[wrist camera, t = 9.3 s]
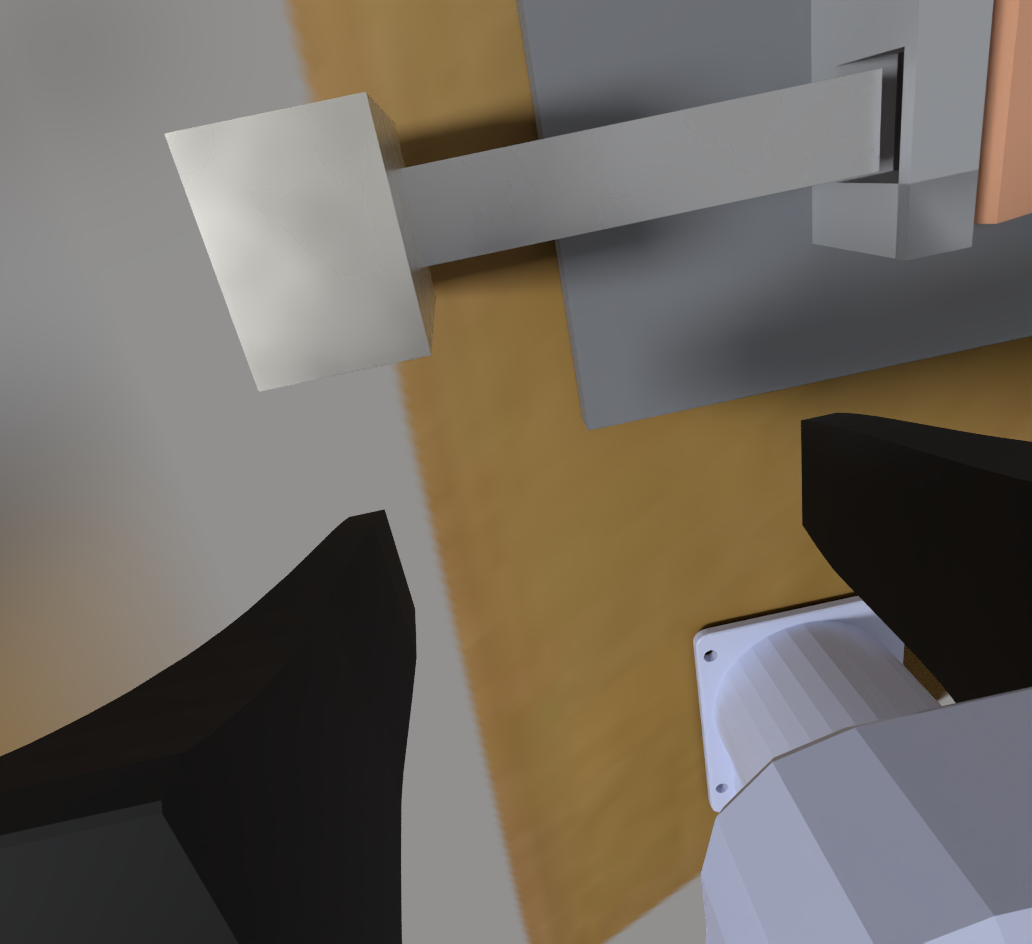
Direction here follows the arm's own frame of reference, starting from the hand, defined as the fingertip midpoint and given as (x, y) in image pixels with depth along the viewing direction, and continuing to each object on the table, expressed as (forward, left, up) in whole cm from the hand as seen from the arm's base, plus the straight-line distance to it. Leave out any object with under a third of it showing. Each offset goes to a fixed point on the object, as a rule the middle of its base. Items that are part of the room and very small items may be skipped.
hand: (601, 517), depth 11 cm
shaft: (+5, -1, -7) cm, 9 cm away
